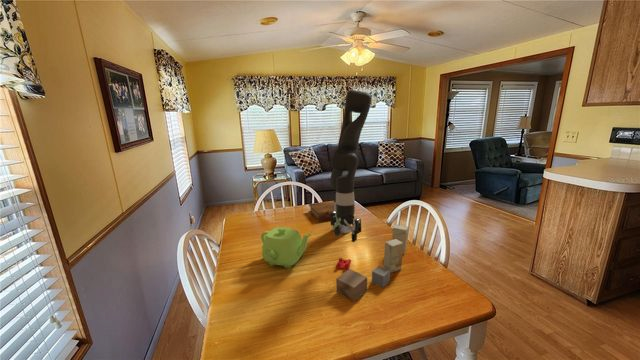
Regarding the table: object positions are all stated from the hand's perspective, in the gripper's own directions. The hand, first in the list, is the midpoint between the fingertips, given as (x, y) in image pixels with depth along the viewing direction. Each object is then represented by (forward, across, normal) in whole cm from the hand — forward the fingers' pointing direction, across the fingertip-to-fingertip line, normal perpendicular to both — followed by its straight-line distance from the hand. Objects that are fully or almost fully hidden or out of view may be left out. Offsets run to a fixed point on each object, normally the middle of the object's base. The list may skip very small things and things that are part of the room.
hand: (345, 238), depth 113 cm
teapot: (+13, -21, -17) cm, 30 cm away
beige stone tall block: (+13, +12, +26) cm, 31 cm away
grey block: (+13, +17, 0) cm, 22 cm away
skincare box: (+13, +16, +11) cm, 24 cm away
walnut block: (+13, +12, -12) cm, 22 cm away
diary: (+13, -43, +40) cm, 60 cm away
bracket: (+13, -1, 0) cm, 13 cm away
